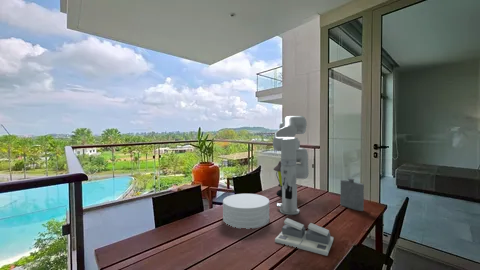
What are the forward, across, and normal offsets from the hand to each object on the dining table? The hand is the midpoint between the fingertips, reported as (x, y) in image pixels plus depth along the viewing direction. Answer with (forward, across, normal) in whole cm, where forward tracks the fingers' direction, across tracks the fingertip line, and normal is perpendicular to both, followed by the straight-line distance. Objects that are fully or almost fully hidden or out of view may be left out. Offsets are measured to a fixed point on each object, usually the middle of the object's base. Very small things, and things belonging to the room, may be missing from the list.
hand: (288, 198), depth 118 cm
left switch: (+13, 0, -3) cm, 13 cm away
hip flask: (+19, +59, -25) cm, 67 cm away
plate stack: (+20, +8, +29) cm, 36 cm away
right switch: (+13, 0, -15) cm, 20 cm away
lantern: (+20, +67, +24) cm, 74 cm away
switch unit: (+19, -2, -9) cm, 21 cm away
